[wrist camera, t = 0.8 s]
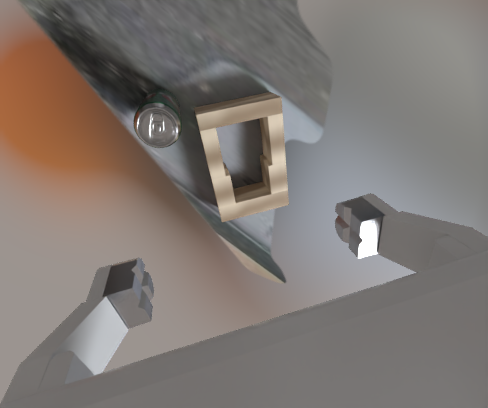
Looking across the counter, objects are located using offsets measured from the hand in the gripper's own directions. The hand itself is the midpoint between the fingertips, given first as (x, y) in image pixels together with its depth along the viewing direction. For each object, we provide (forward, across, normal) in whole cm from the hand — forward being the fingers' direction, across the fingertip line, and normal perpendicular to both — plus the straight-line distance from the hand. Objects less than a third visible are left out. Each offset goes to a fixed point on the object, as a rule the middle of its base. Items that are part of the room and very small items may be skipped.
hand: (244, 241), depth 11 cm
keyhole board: (+34, -6, +10) cm, 36 cm away
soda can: (+34, +5, 0) cm, 34 cm away
